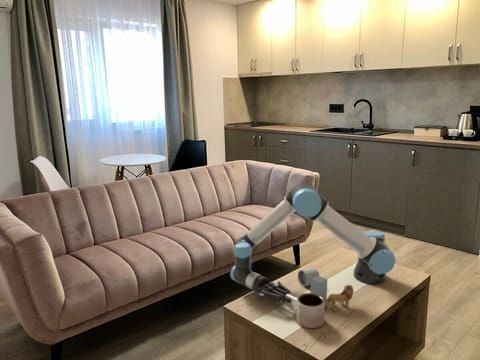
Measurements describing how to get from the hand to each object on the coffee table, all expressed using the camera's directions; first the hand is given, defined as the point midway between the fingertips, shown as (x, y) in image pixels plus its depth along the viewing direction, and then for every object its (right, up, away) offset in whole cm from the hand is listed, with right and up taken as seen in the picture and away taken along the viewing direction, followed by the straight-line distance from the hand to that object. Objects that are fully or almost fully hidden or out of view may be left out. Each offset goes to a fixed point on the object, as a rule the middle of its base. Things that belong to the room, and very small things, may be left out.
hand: (298, 303), depth 160 cm
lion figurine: (+18, -4, +8) cm, 20 cm away
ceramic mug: (+8, 0, +29) cm, 30 cm away
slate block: (+11, -3, +14) cm, 17 cm away
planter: (+4, -7, -2) cm, 8 cm away
